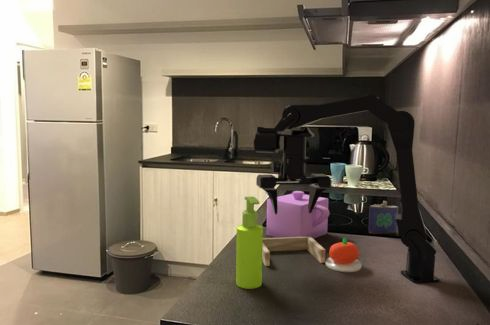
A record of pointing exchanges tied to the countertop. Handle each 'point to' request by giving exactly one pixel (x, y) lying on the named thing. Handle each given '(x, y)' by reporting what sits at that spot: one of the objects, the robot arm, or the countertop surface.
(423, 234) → the robot arm
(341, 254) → the pumpkin
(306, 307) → the countertop surface
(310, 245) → the wooden frame
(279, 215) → the teapot
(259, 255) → the soap dispenser
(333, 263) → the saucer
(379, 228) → the flask
